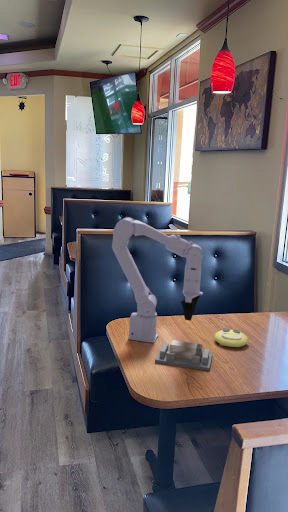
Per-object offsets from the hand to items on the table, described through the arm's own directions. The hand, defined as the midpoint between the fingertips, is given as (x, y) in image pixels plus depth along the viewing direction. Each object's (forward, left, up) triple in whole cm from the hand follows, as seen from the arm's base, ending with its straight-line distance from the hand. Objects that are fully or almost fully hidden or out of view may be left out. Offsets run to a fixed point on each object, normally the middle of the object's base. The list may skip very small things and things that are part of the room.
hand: (189, 316), depth 149 cm
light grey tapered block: (+1, -15, -8) cm, 17 cm away
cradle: (+1, -15, -9) cm, 18 cm away
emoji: (+15, +5, -10) cm, 19 cm away
